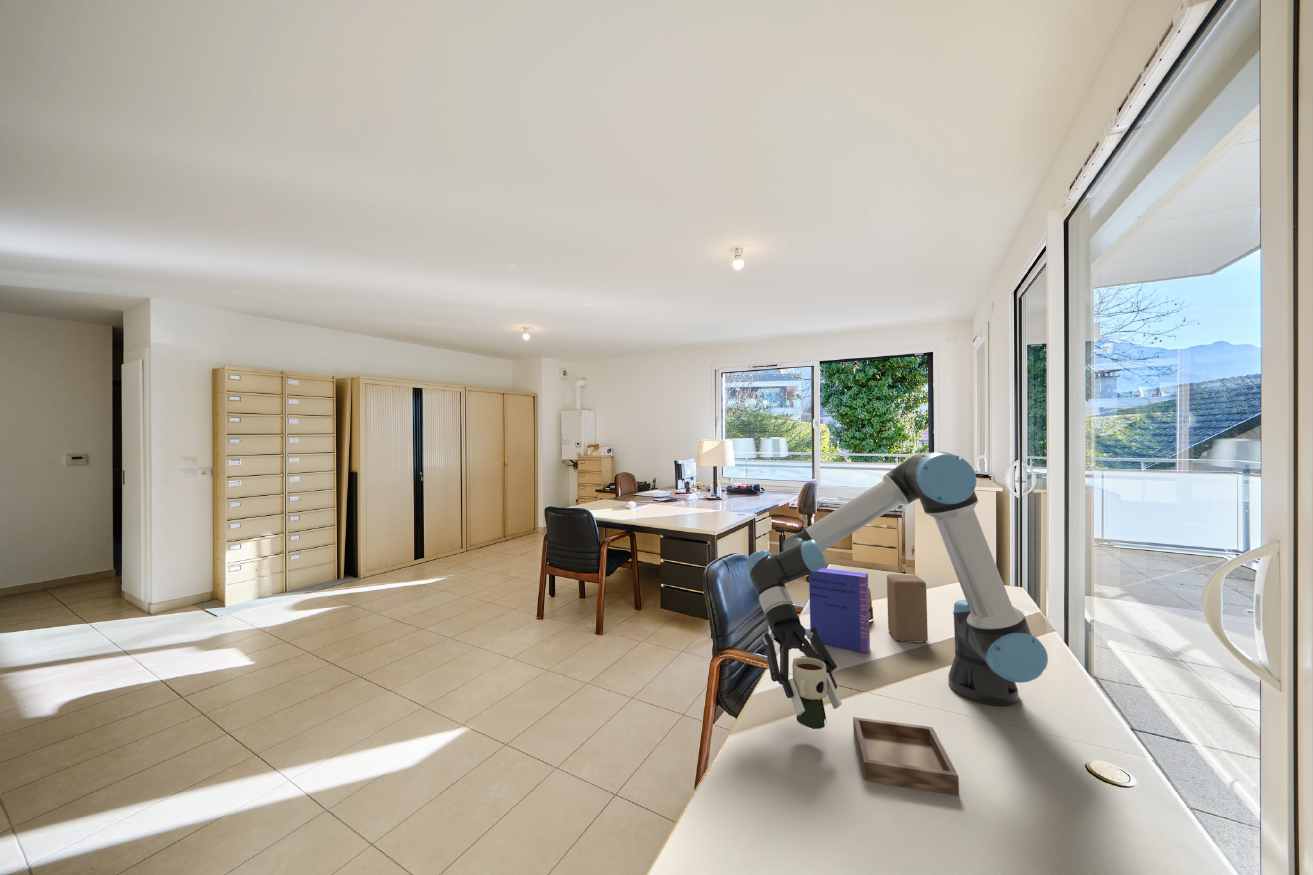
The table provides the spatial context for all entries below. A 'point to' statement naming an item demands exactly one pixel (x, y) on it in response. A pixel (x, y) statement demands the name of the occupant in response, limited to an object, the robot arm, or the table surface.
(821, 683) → the character mug
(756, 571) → the robot arm
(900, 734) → the walnut tray
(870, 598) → the ammunition clip
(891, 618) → the wooden block
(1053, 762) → the table surface
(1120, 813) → the table surface
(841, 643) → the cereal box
